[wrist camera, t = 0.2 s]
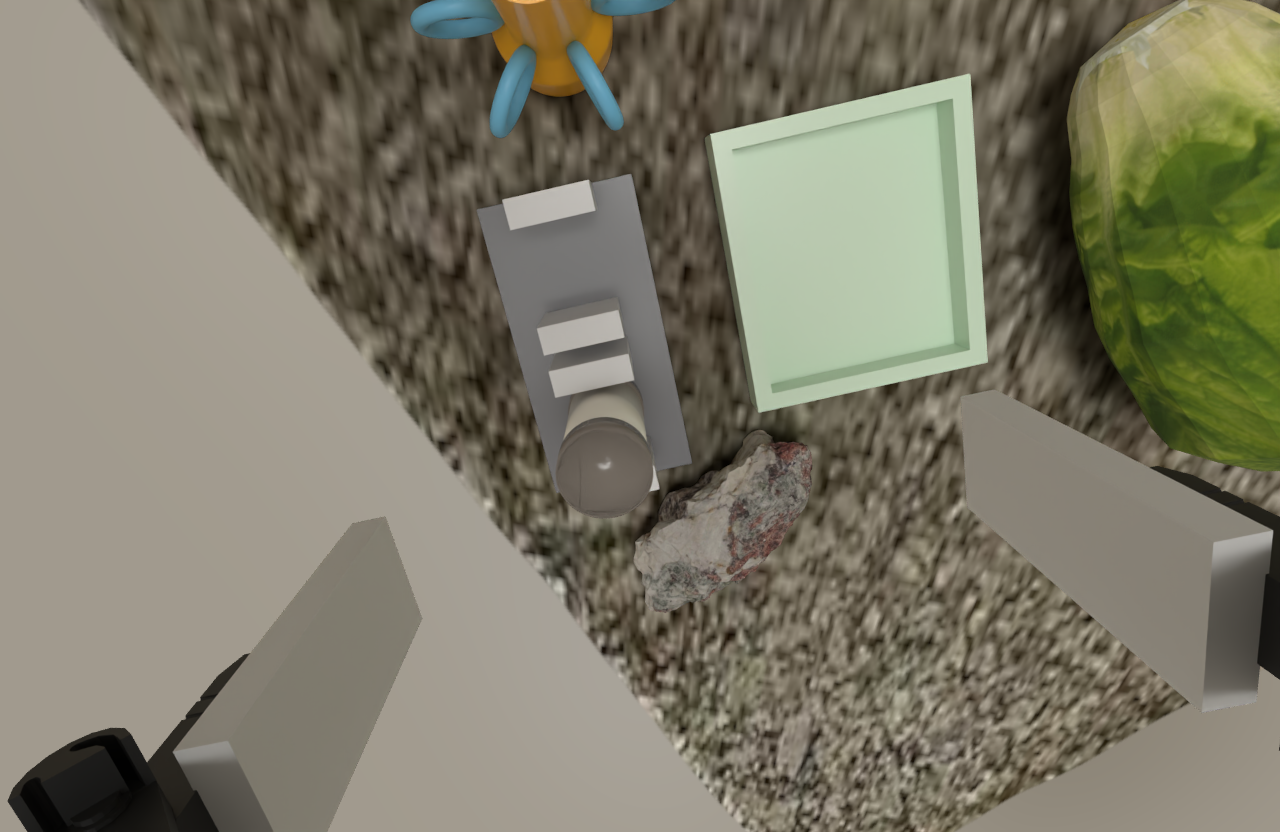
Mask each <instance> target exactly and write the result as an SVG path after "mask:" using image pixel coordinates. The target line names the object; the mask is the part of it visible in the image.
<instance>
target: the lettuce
mask: <svg viewBox="0 0 1280 832" xmlns="http://www.w3.org/2000/svg"><path fill="white" fill-rule="evenodd" d="M1067 126H1068V135H1069V143H1070V152H1071V160H1072V161H1071V176H1070V190H1069V196H1070V207H1071V218H1072V228H1073V233H1074V238H1075V243H1076V247H1077V252H1078V257H1079V261H1080V264H1081V268H1082V271H1083V274H1084V278H1085V281H1086V284H1087V288H1088V294H1089V299H1090V305H1091V311H1092V316H1093V322H1094V327H1095V329H1096V331H1097V333H1098V335H1099V337H1100V340H1101V342H1102V344H1103V346H1104V348H1105V350H1106V353H1107V355H1108V357H1109V359H1110V360H1111V362H1112V363H1113V365H1114V366H1115V368H1116V369H1117V371H1118V372H1119V374H1120V375H1121V377H1122V378H1123V380H1124V381H1125V383H1126V384H1127V386H1128V387H1129V389H1130V390H1131V392H1132V394H1133V396H1134V398H1135V399H1136V401H1137V403H1138V405H1139V407H1140V408H1141V410H1142V412H1143V414H1144V415H1145V417H1146V419H1147V421H1148V423H1149V424H1150V426H1151V428H1152V429H1153V430H1154V431H1155V432H1156V433H1157V435H1158V436H1159V437H1160V438H1161V439H1162V440H1163V441H1164V442H1165V443H1166V444H1167V445H1168V446H1169V447H1170V448H1171V449H1175V450H1178V451H1181V452H1185V453H1188V454H1191V455H1195V456H1198V457H1201V458H1205V459H1208V460H1212V461H1215V462H1218V463H1223V464H1228V465H1233V466H1238V467H1242V468H1247V469H1252V470H1257V471H1280V14H1278V13H1276V12H1274V11H1272V10H1270V9H1268V8H1266V7H1263V6H1261V5H1259V4H1257V3H1255V2H1250V1H1246V0H1179V1H1176V2H1174V3H1172V4H1170V5H1168V6H1166V7H1163V8H1161V9H1159V10H1157V11H1155V12H1153V13H1150V14H1148V15H1146V16H1144V17H1142V18H1140V19H1137V20H1135V21H1133V22H1131V23H1129V24H1128V25H1126V26H1125V27H1124V28H1123V29H1122V30H1121V31H1120V32H1119V33H1118V34H1117V35H1115V36H1114V37H1113V38H1112V39H1111V40H1110V41H1109V42H1108V43H1107V44H1106V45H1104V46H1103V47H1102V48H1101V49H1100V50H1099V51H1098V52H1097V53H1096V54H1094V55H1093V56H1092V57H1091V58H1090V59H1089V60H1088V61H1087V62H1086V63H1085V64H1083V65H1082V66H1081V67H1080V69H1079V72H1078V75H1077V78H1076V81H1075V84H1074V87H1073V90H1072V93H1071V97H1070V103H1069V109H1068V115H1067Z"/></svg>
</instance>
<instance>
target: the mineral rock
mask: <svg viewBox="0 0 1280 832" xmlns="http://www.w3.org/2000/svg"><path fill="white" fill-rule="evenodd" d="M811 470H812V457H811V452H810V450H809V449H808V446H807V445H804V444H803V443H796V442H777V443H774V441H773V439H772V436H770V435H768V434H767V433H766V432H765V431H763V430H757V431H753V432H751V433H750V434H749V435H748V436H747V437H746V438H745V439H744V440H743V446H742V447H741V449H740V450H739V451H738V453H737V454H736V455H735V457H734V459H733V461H732V463H731V464H730V465H728V466H726V467H725V468H723V469H722V470H721V471H710V472H708V473H706V474H704V475H703V476H701V478H700V479H699V481H698V482H697V483H696V484H695V485H694V486H692V487H689V488H683V489H680V490H678V491H674V492H670V493H668V494H667V495H666V497H665V499H664V501H663V503H662V504H661V507H660V509H659V511H658V514H659V520H658V523H657V524H656V525H655V526H654V528H653V529H652V530H651V531H650V532H649V533H646V534H645V535H642V536H641V537H640V538H639V539H638V540H636V542H635V544H636V552H635V555H634V564H635V565H636V567H637V569H638V570H639V571H641V572H642V574H643V576H642V585H644V586H645V591H646V594H645V602H646V604H647V605H648V608H649V610H652V611H656V612H658V611H659V612H664V613H666V612H669V611H671V610H676V609H677V608H678V607H680V606H682V605H684V604H686V603H688V602H695V601H705V600H707V599H708V598H710V596H711V594H712V593H714V592H717V591H719V590H721V589H723V588H724V587H726V586H727V585H728V584H729V583H731V582H732V581H735V583H736V584H738V583H739V582H740V581H741V580H742V579H743V578H745V576H746V575H748V574H749V573H750V572H756V569H757V568H758V565H759V564H760V563H762V562H763V561H765V559H766V558H767V556H768V555H769V553H770V552H771V551H772V550H774V549H776V548H777V547H778V546H780V545H781V543H782V541H783V538H784V536H785V533H786V532H787V530H788V528H789V527H790V526H792V525H793V521H794V520H795V519H796V518H797V517H798V516H799V515H800V512H801V511H802V510H804V508H805V506H806V503H807V501H808V498H809V492H810V488H811V485H812V481H811V476H810V471H811Z"/></svg>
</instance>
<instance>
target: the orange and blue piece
mask: <svg viewBox="0 0 1280 832" xmlns="http://www.w3.org/2000/svg"><path fill="white" fill-rule="evenodd" d="M674 1H675V0H435V1H431V2H428V3H425V4H423V5H421V6H419V7H418V8H416V9H415V10H414V11H413V13H412V15H411V25H412V27H413V29H414V30H415V31H416V32H417V33H419V34H421V35H423V36H426V37H431V38H438V39H460V38H469V37H475V36H480V35H484V34H488V33H491V32H492V35H493V38H494V41H495V44H496V46H497V48H498V50H499V52H500V54H501V56H502V57H503V59H504V60H505V61H506V63H507V65H506V67H505V69H504V72H503V74H502V76H501V79H500V82H499V84H498V87H497V90H496V93H495V97H494V100H493V104H492V108H491V113H490V130H491V132H492V134H493V135H494V136H495V137H498V138H504V137H506V136H507V135H508V134H509V133H510V132H511V130H512V129H513V127H514V126H515V124H516V122H517V120H518V118H519V116H520V114H521V112H522V109H523V107H524V104H525V102H526V99H527V97H528V94H529V91H530V88H532V89H533V90H535V91H537V92H539V93H542V94H545V95H549V96H556V97H563V96H570V95H574V94H577V93H579V92H581V91H583V90H585V89H586V91H587V93H588V95H589V96H590V98H591V100H592V102H593V103H594V105H595V107H596V108H597V110H598V112H599V113H600V115H601V116H602V118H603V119H604V121H605V122H606V124H607V125H608V127H609V128H610V129H612V130H619V129H620V128H621V127H622V126H623V123H624V119H623V116H622V113H621V111H620V108H619V106H618V104H617V102H616V100H615V98H614V96H613V94H612V92H611V90H610V89H609V87H608V85H607V83H606V81H605V79H604V78H603V76H602V72H603V71H604V69H605V67H606V65H607V63H608V60H609V57H610V54H611V49H612V41H613V16H626V15H635V14H641V13H646V12H650V11H654V10H657V9H660V8H663V7H665V6H667V5H669V4H671V3H673V2H674ZM467 17H474V18H469V19H461V20H448V19H455V18H467Z"/></svg>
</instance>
